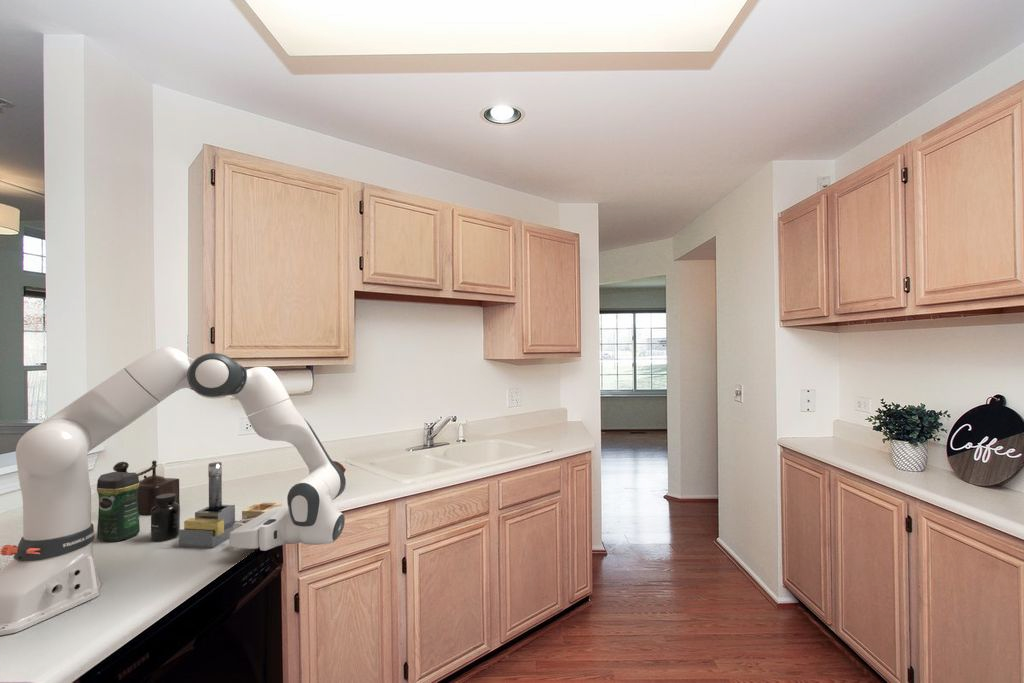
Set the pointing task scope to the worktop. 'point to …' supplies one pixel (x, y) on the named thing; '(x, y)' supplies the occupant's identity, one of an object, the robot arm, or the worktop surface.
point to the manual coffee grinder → (151, 487)
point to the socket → (206, 537)
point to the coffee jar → (118, 506)
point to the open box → (258, 509)
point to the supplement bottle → (165, 518)
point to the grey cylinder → (215, 486)
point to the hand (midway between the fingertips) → (236, 524)
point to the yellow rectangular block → (205, 525)
